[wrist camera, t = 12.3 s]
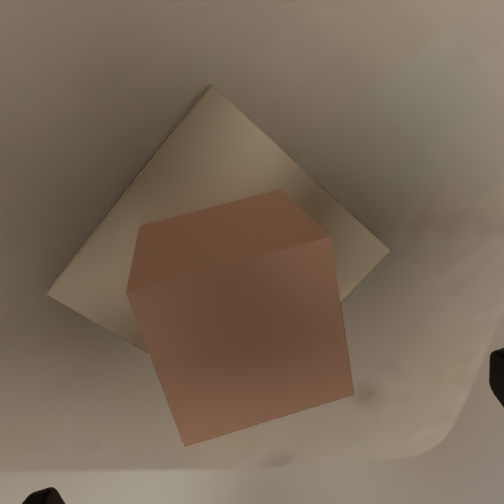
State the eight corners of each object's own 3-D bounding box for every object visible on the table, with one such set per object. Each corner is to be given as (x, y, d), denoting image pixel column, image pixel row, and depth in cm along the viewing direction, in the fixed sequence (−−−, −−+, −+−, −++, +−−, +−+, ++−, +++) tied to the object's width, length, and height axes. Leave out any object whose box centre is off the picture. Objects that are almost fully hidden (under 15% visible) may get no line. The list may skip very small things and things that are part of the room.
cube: (180, 344, 16) (184, 446, 12) (139, 225, 14) (125, 292, 10) (303, 309, 17) (354, 394, 12) (280, 189, 15) (331, 236, 10)
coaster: (53, 281, 15) (46, 294, 15) (209, 85, 14) (212, 85, 13) (236, 390, 19) (240, 406, 18) (378, 241, 17) (390, 250, 16)
